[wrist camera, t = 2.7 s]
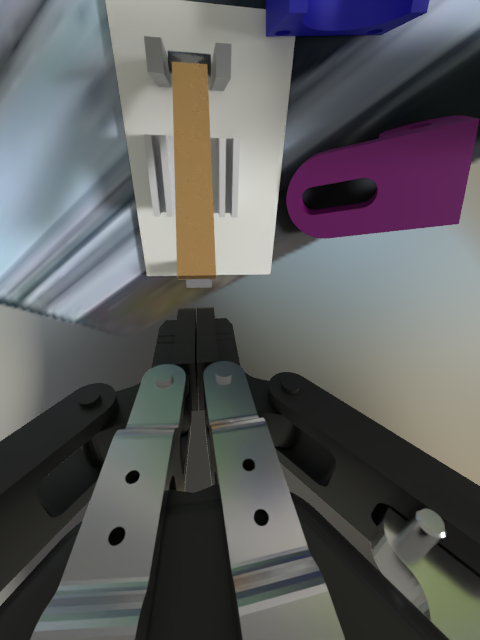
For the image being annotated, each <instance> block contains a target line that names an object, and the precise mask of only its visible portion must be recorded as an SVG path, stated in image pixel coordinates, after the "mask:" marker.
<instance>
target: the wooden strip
mask: <svg viewBox="0 0 480 640" xmlns="http://www.w3.org/2000/svg"><path fill="white" fill-rule="evenodd" d="M168 67H169V74H172V88H173V129H174V169H175V210H176V250H177V277H178V279H216V260H215V236H214V212H213V188H212V164H211V141H210V117H209V93H208V77H211V54H205V53H193V52H182V51H170V50H168Z"/></svg>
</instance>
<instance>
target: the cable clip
mask: <svg viewBox="0 0 480 640" xmlns="http://www.w3.org/2000/svg"><path fill="white" fill-rule="evenodd" d="M428 4H429V0H266V37H270V36H338V35H382V34H384V33H386V32H388V31H390V30H392V29H394V28H396V27H398V26H400V25H402V24H404V23H406V22H408V21H410V20H412V19H415V18H417V17H419V16H421V15H423V14H425V13H427V9H428Z"/></svg>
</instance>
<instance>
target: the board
mask: <svg viewBox="0 0 480 640" xmlns="http://www.w3.org/2000/svg"><path fill="white" fill-rule="evenodd" d="M105 2H106V8H107V15H108V22H109V28H110V35H111V42H112V48H113V55H114V61H115V68H116V75H117V81H118V88H119V95H120V101H121V108H122V114H123V121H124V128H125V134H126V141H127V147H128V154H129V161H130V167H131V174H132V181H133V187H134V194H135V200H136V207H137V214H138V220H139V227H140V234H141V240H142V247H143V253H144V260H145V267H146V273H147V276H177V250H176V210H175V169H174V129H173V88H172V74H169V67H168V50H170V51H182V52H193V53H205V54H211V77H208V93H209V117H210V141H211V164H212V188H213V212H214V236H215V260H216V275H251V274H270V272H271V262H272V253H273V243H274V234H275V224H276V215H277V205H278V196H279V186H280V177H281V167H282V158H283V148H284V139H285V129H286V120H287V110H288V101H289V91H290V82H291V72H292V63H293V53H294V44H295V36H270V37H266V9H257V8H248V7H239V6H230V5H221V4H211V3H202V2H193V1H184V0H105ZM186 283H187V288H196V287H212V279H186Z"/></svg>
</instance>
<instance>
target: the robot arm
mask: <svg viewBox="0 0 480 640" xmlns="http://www.w3.org/2000/svg"><path fill="white" fill-rule="evenodd" d="M198 389H199V407H200V410H205V429H206V438H207V447H208V455H209V464H210V473H211V482H212V486H211V487H209V488H206V489H204V490H201V491H198V492H195V493H189V492H185V478H186V469H187V460H188V450H189V441H190V431H191V430H190V429H191V428H190V426H191V421H192V411H198ZM80 447H81V448H80ZM75 451H76V452H75ZM74 452H75V453H74ZM73 453H74V454H73ZM68 457H69V458H68ZM67 458H68V459H67ZM62 462H63V463H62ZM61 463H62V464H61ZM280 463H281V464H283V465H284V466H285V467H286V468H287V469H288V470H289V471H291V472H292V473H293V474H294V475H295V476H296V477H298V478H299V479H300V480H301V481H302V482H303V483H304V484H305V485H307V486H308V487H309V488H310V489H311V490H312V491H313V492H315V493H316V494H317V495H318V496H319V497H321V499H323V500H324V501H325V502H326V503H327V504H328V505H329V506H331V507H332V508H333V509H334V510H335V511H336V512H337V513H339V514H340V515H341V516H342V517H343V518H344V519H346V520H347V521H348V522H349V523H350V524H351V525H352V526H354V527H355V528H356V529H357V530H358V531H359V532H360V533H361V534H363V535H364V536H365V537H366V538H367V539H368V540H369V541H371V549H372V553H373V557H374V559H375V562H376V564H377V565H378V567H379V569H380V571H381V572H380V571H379V570H378V569H376V568H375V567H374V566H373V565H372V564H371V563H370V562H369V561H368V560H367V559H366V558H365V557H364V556H363V555H362V554H361V553H360V552H359V551H358V550H357V549H356V548H355V547H354V546H353V545H352V544H350V542H349V541H348V540H347V539H345V537H343V536H342V535H341V534H340V533H339V532H338V531H337V530H336V529H335V528H334V527H333V526H332V525H331V524H330V523H329V522H328V521H327V520H326V519H325V518H324V517H323V516H322V515H321V514H320V513H319V512H318V511H317V510H316V509H315V508H313V507H312V506H311V505H310V504H309V503H307V502H306V501H305V500H304V499H302V498H300V497H299V496H297V495H296V494H294V493H292V492H289V489H288V486H287V483H286V480H285V477H284V474H283V471H282V468H281V465H280ZM56 467H57V468H56ZM55 468H56V469H55ZM54 469H55V470H54ZM49 473H50V474H49ZM48 474H49V475H48ZM89 501H90V502H89ZM88 502H89V505H88V508H87V511H86V513H85V516H84V519H83V521H82V522H80V523H79V524H78V525H76V526H75V527H74V528H73V529H72V530H71V531H70V532H69V533H67V534H66V535H65V536H64V537H63V538H62V539H61V540H60V541H59V543H58V544H57V545H56V546H55V547H54V548H53V549H52V550H51V551H50V552H49V553H48V555H47V556H46V557H45V558H44V559H43V560H42V561H41V562H40V564H38V565H37V567H36V568H35V569H34V570H33V571H32V572H31V573H30V574H29V575H28V576H27V578H26V579H25V580H24V581H23V582H22V583H21V584H20V585H19V586H18V587H17V588H16V590H15V591H14V592H13V593H12V594H11V595H10V596H9V597H8V598H7V599H6V600H5V602H4V603H3V604H2V605H1V606H0V640H480V486H479V485H477V484H475V483H474V482H472V481H471V480H469V479H467V478H466V477H464V476H462V475H461V474H459V473H458V472H456V471H454V470H453V469H451V468H449V467H448V466H446V465H445V464H443V463H441V462H439V461H438V460H437V459H435V458H433V457H431V456H430V455H428V454H427V453H425V452H424V451H422V450H420V449H419V448H417V447H415V446H414V445H412V444H411V443H409V442H407V441H406V440H404V439H403V438H401V437H399V436H397V435H396V434H395V433H393V432H391V431H390V430H388V429H386V428H385V427H383V426H382V425H380V424H378V423H377V422H375V421H373V420H372V419H370V418H369V417H367V416H365V415H364V414H362V413H361V412H359V411H357V410H356V409H354V408H352V407H351V406H349V405H348V404H346V403H344V402H343V401H341V400H339V399H338V398H336V397H334V396H333V395H331V394H329V393H328V392H326V391H325V390H323V389H322V388H320V387H318V386H317V385H315V384H314V383H312V382H310V381H309V380H307V379H306V378H304V377H302V376H300V375H298V374H295V373H290V372H282V373H279V374H276V375H275V376H273V377H272V378H271V380H270V381H267V380H261V379H257V378H253V377H251V376H249V375H248V374H246V373H245V372H244V370H243V369H242V368H241V366H240V363H239V357H238V353H237V347H236V342H235V336H234V331H233V326H232V324H231V323H230V322H229V321H228V320H227V319H226V318H221V319H215V316H214V308H213V307H211V308H197V325H196V309H195V308H180V309H178V315H177V320H167V321H165V322H164V323H163V324H162V325H161V327H160V328H159V333H158V338H157V344H156V348H155V353H154V358H153V363H152V368H151V369H150V370H149V371H147V372H146V374H145V375H144V376H143V378H142V381H141V383H139V384H137V385H135V386H133V387H130V388H127V389H123V390H120V391H117V392H115V390H114V389H113V387H111V386H110V385H108V384H104V383H95V384H90V385H87V386H84V387H81V388H79V389H78V390H76V391H75V392H73V393H72V394H70V395H69V396H67V397H66V398H64V399H63V400H61V401H60V402H58V403H57V404H55V405H54V406H52V407H51V408H49V409H48V410H46V411H45V412H43V413H42V414H40V415H39V416H37V417H36V418H35V419H33V420H31V421H30V422H29V423H27V424H26V425H24V426H23V427H21V428H20V429H18V430H17V431H15V432H14V433H12V434H11V435H10V436H8V437H6V438H5V439H3V440H2V441H0V591H1V590H2V589H3V588H4V587H5V586H6V585H7V584H8V583H9V582H10V581H11V580H12V579H13V578H14V577H15V576H16V575H17V574H18V573H19V572H20V571H21V570H22V569H23V568H24V567H25V566H26V565H27V564H28V563H29V562H30V561H31V560H32V559H33V558H34V557H35V556H36V554H38V553H39V552H40V550H42V549H43V548H44V547H45V546H46V545H47V544H48V543H49V542H50V540H51V539H52V538H53V537H54V536H55V535H56V534H57V533H58V532H59V531H60V530H61V529H62V528H63V527H64V526H65V525H66V524H67V523H68V522H69V521H70V520H71V519H72V518H73V517H74V516H75V515H76V514H77V513H78V512H79V511H80V510H81V509H82V508H83V507H84V506H85V505H86V504H87V503H88Z"/></svg>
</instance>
